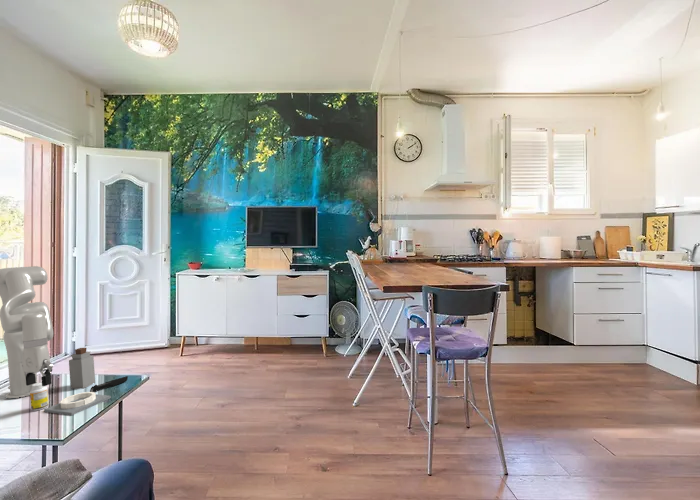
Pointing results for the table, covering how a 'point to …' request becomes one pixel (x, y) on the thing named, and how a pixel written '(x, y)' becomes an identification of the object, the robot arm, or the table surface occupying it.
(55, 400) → the table surface
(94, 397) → the collar
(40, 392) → the supplement bottle
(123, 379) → the electric trimmer
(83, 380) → the perfume bottle
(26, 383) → the robot arm
